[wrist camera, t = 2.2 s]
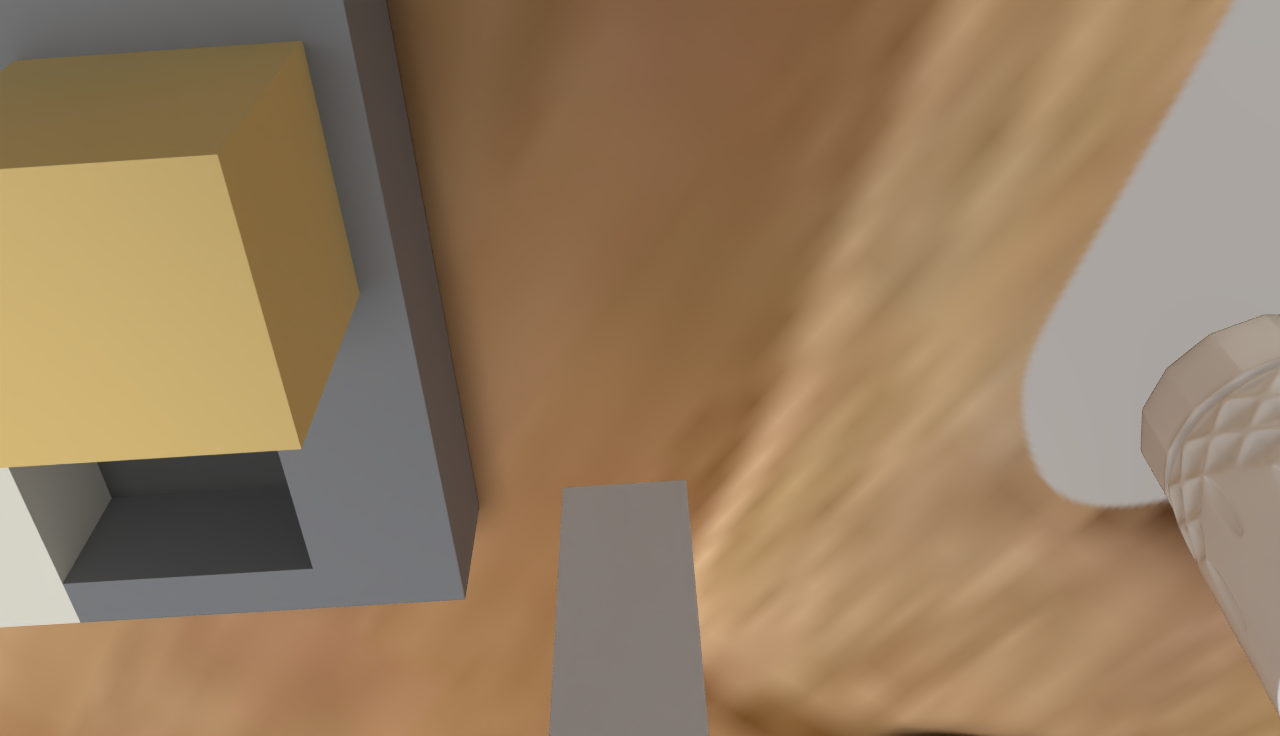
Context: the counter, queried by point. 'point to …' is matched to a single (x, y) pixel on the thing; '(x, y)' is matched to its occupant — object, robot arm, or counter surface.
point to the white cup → (1227, 476)
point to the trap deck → (347, 411)
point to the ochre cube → (166, 255)
